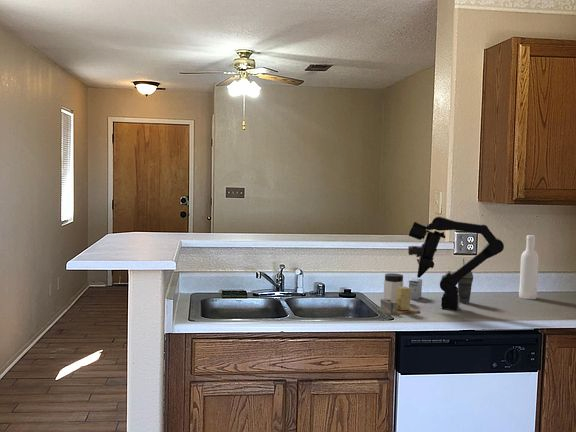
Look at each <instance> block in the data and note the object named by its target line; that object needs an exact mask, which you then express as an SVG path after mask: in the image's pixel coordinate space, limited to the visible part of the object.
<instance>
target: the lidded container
mask: <svg viewBox="0 0 576 432" xmlns="http://www.w3.org/2000/svg"><path fill="white" fill-rule="evenodd" d="M383 282H384V283H383V300H384V299H390V300H391V302H395V300H396V287H404V275H403V274H401V273H391V272H390V273H385V274H384V281H383Z"/></svg>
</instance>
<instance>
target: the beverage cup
mask: <svg viewBox="0 0 576 432" xmlns="http://www.w3.org/2000/svg"><path fill="white" fill-rule="evenodd" d="M462 264H463V265H464V264H465V258H462ZM463 265H462V266H463ZM473 281H474V275H473V272H472V271H471V272H469V273H468V274H467V275H465V276H464V277H463V278H462V279H461V280H460V281H459V282H458V283H457V288H458V294H459V303H460V304H470V299H471V292H472V286H473Z"/></svg>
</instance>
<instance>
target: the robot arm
mask: <svg viewBox="0 0 576 432" xmlns="http://www.w3.org/2000/svg"><path fill="white" fill-rule="evenodd" d="M432 230H434V231H432ZM440 231H441V232H440ZM444 231H459V232H464V233H465V232H466V233H474V234H480V235H482V236H483V238H484V240H485V241H487V244H486V245H485V246H484V247H483V248H482V250H481V251H480V252H478V253H477V254H476V255H475V256H473V257H472V258H470V260H468V261H467V262H465V263H464V265H462V266H461V267H459V268H458V269H456V270H455V271H453V272H451V270H448V271H447V272H446V274H444V275H442V276H441V279H440V280H439V281H440V282H439V288H440V289H441V291H443V292H444V293H442V297H441V302H440V303H441V305H440V306H441V309H442V310H449V311H458V310H459V309H460V305H459V294H458V282H459V281H460V280H461V279H462V278H463V277H464V276H465V275H467V274H468V273H469V272H472V271H473V270H475V269H476V268H477V267H478V266H480V265H481V264H483V263H484V262H485V261H486V260H487V259H490V258H492V257H494V256H496V255H497V254H500V253H501V252H503V251H504V249H505V245H504V242H503V241H502V239H500V238H497V237H496V236H495V235H494V234H493V232H492V231H491V230H490V229H489V227H488V225H487V224H477V223H472V222H471V223H470V222H463V221H455V220H453V219H449V218H446V217H443V216H436V217H434V218H433V219H432V221H431V222H430V223H429V224H427V225H423V224H421V223H420V222H417V221H414V222H413V224H412V226H411V228H410V229H409V233H408V237H411V238H414V239H416V240H419V241H422V240H424V239H425V240H424V243H422V244H421V246H419V245H418V246H417V245H411V246H410V245H409V246H408V247H407V249H408V251H407V252H408V253H407V254H408V256H414V255H415V257H416V258H417V259H416V261H417V264H418V269H417V274H416V275H417V277H416V278H417V279H421V277H422V276H423V275H424V274H425V273H426V272H427V271H428V270H430V268H431V269H434V267H435V263H434V256H435V253H436V252H437V249H438V246H439V243H440V242H441V238H443V239H446V234H445V232H444Z"/></svg>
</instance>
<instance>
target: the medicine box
mask: <svg viewBox="0 0 576 432" xmlns="http://www.w3.org/2000/svg"><path fill="white" fill-rule="evenodd" d="M408 288H411V291H410V300H416V301H418V300H420V298H421V297H422V290H423V289H422V288H423V279H422V278H418V277H415V278H411V279H410V280H408Z"/></svg>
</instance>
